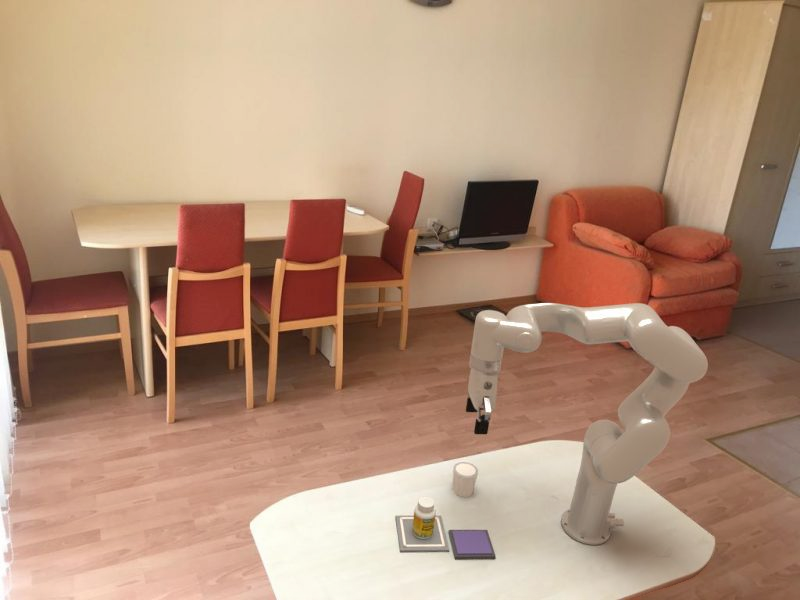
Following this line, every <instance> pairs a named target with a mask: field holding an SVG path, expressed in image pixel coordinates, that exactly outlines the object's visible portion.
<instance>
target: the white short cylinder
mask: <svg viewBox="0 0 800 600" xmlns="http://www.w3.org/2000/svg"><path fill="white" fill-rule="evenodd" d="M452 472H453V473H452V475H453V476H452V491H453V493H454V494H455V495H457V496H460V497H464V498H465V497H469V496H471V495H472V494H473V492H474V488H475V485H476V481H477V478H478V474H479V470H478V467H477V466H476V465H474V464H472V463H470V462H466V461H462V462H460V461H459V462H457V463H455V464H454V465H453V471H452Z"/></svg>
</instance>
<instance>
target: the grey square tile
mask: <svg viewBox="0 0 800 600" xmlns="http://www.w3.org/2000/svg"><path fill="white" fill-rule="evenodd" d="M413 519H414V515H395V525H396V531H397V537H398V545H399V551H400V552H399V553H449V552H450V548H449V547H450V546H449V543H448V540H447V535H446V530H445V526H444V522H443V517H442V515H436V516H435V523H434V530H433V534H432V536H431V537H430V538H428V539H420V538H417V537H416V536H415V535H414V534H413V532H412V527H413Z"/></svg>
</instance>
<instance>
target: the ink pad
mask: <svg viewBox="0 0 800 600" xmlns="http://www.w3.org/2000/svg"><path fill="white" fill-rule="evenodd" d="M447 534H448V536H449V541H450V545H451V550H452V554H453V558H454V560H456V561H458V560H496V553H495V550H494V547H493V544H492V540H491V537H490V535H489V534H490V533H489V532H488V529H448V533H447Z"/></svg>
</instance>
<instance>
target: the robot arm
mask: <svg viewBox="0 0 800 600" xmlns="http://www.w3.org/2000/svg"><path fill="white" fill-rule="evenodd" d="M542 332H554V333H555V332H556V333H560V334H563V335H567V336H568V337H570V338H573V339H574V340H576V341H577V342H580V343H581V344H582V343H583V344H586V345H597V344H599V345H600V344H607V343H621V342H622V343H623V342H628V344H629V345H630V347H631V348H632V349H633V351H635V352H636V353H637V355H640V357H642V358H643V359H644V360H645V361H647V362H648V363H650V364H651V365H653V366H654V368H653V370H652V372H651V373H650V374H649V376H647V378H646V379H645V380H644V381H643V382H642V383H641V384H640V385H639V386H637V387H636V388H635V389H634V390H633V391H632V392H631V393H630V394H629V395H628V396H627V397H626V398H625V399H624V400H623V401H622V402H621V403H620V405H618V409H617V416H618V419H619V422H620V424H621V426H622V427H620V425H619V424H617V423H616V422H615V421H612V420H611V419H599V420H596V421H594V422H593V423H591V424H590V425H589V426H588V428H587V430H586V431H585V435H584V438H583V444H582V445H583V446H582V456H581V462H580V466H579V471H578V473H577V478H576V482H575V486H574V491H573V495H572V499H571V503H570V507H569V509H567V510H565V511H564V512H563V513H562V514H561V518H560V523H561V524H560V525H561V527H562V529H563V530H564V532H565V533H566V534H567V535H568V536H569V537H570V538H572V539H574V540H575V541H577V542H579V543H583V544H586V545H601V544H604V543H606V542H607V541H608V540H609V538H610V535H611V528H613V527H624V526H625V520H624V519H623V518H616V514H615V513H614V512H610V511H611V507H612V503H613V501H614V496H615V493H616V489H617V486H618V484H622V483H625V482H627V481H629V480H631V479H632V478H633V477H635V476H636V475H637V474H638V473H639V472H641V470H643V469H644V468H645V467H646V466H647V465H648V464H649V463H651V462H652V461H653V460H654V459H655V458H656V457H658V455H660V454H661V453H662V452H663V451H664V449H666V446H667V445H668V443H669V441H670V438H671V429H670V425H669V423H668V421H667V419H666V418H665V415H667V413H668V412H669V411H670V410H672V408H673V407H674V406H675V405H676V404H677V403H678V402H679V401H680V400H681V399H682V398H683V396H684V395H685V394H686V392H687V390H688V388H689V386H690V384H692V383H695V382H699V381H700V380H702V378H703V377H704V376H705V375H706V373H707V371H708V369H709V368H708V366H709V363H708V358H707V356H706V355H705V353H704V352H703V350H702V349H701V348H700V347H699V345H698V344H697V343H696V342H695V340H694V339H693V338H692V336H691V335H690V334H689V333H688V332H687V331H685V330H684V329H683V328H682V327H679V326H675V325H670V326H668V325H666V323H665V322H664V321H663V320H662V319H661V317H660V315H658V313H657V312H656V311H655V309H654V308H652V307H651V306H650V305H648V304H645V303H641V302H639V303H637V302H633V303H623V304H613V305H612V304H611V305H602V306H601V305H600V306H591V307H590V306H589V307H580V306H575V305H569V304H562V303H555V302H540V303H528V304H523V305H522V304H521V305H518V306H515V307H514V308H512V309H510V310H509V311H508V312H507V314H506V315H505V314H504V313H503V312H501V311H497V310H493V309H485V310H481V311H479V312H478V313H477V314H476V317H475V322H474V328H473V335H472V342H471V347H470V348H471V349H470V355H469V363H468V366H469V368H470V371H469V372H470V373H469V379H468V386H467V387H468V388H467V391H468V393H467V398H466V406H465V412H466V413H477V415H476V416H477V418H475V425H474V428H473V429H474V431H473V432H474V435H487V434H489V433H488V432H489V427H490V422H491V419H492V418H491V415H492V412H493V411H495V409H496V406H497V405H496V403H497V395H498V383H499V380H498V379H499V372H501V367H502V362H503V355H504V350H505V349H509V350H512V351H514V352H518V353H524V354H525V353H532V352H534V351H536V350H537V349H538V348H539V347H540V345H541V343H542ZM482 406H483V407H482ZM482 412H483V414H481V413H482Z"/></svg>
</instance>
